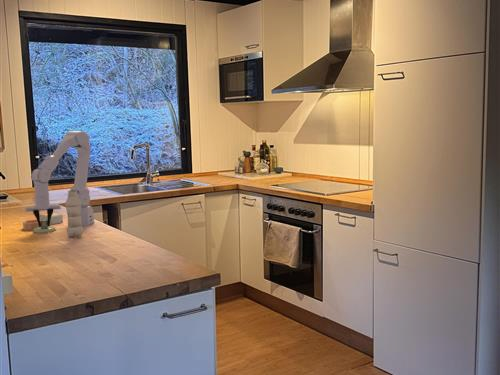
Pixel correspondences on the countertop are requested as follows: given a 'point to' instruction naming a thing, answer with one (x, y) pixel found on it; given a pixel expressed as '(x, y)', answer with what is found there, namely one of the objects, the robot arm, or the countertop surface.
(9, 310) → the countertop surface
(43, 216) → the skincare box
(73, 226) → the plastic bottle
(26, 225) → the bowl
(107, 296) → the countertop surface
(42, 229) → the lid
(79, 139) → the robot arm
